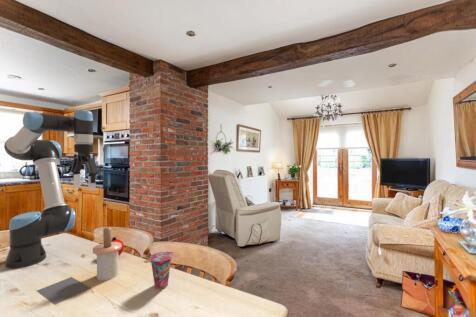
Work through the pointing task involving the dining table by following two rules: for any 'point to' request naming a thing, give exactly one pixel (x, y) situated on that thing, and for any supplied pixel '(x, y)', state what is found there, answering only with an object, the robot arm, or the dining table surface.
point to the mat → (63, 290)
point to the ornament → (120, 242)
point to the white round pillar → (107, 266)
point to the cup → (161, 268)
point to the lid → (107, 244)
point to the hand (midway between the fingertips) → (84, 189)
